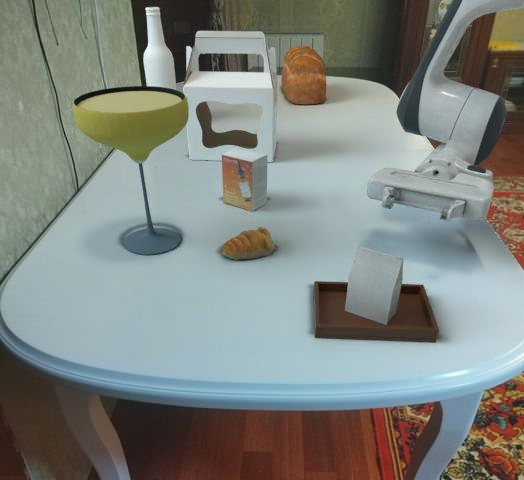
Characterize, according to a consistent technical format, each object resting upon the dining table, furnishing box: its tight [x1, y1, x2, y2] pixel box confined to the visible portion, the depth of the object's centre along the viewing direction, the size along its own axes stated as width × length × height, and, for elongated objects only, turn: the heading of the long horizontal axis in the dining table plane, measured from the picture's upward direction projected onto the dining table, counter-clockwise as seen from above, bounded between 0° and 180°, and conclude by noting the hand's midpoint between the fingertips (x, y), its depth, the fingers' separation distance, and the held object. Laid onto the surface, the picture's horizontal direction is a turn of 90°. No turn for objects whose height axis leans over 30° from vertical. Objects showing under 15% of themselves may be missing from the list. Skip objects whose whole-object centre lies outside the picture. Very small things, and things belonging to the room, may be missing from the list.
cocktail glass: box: [72, 85, 189, 256], centre depth 88 cm, size 18×18×25 cm
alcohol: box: [142, 6, 178, 90], centre depth 150 cm, size 9×9×30 cm
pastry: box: [221, 226, 276, 261], centre depth 92 cm, size 9×7×4 cm
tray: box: [313, 280, 440, 343], centre depth 76 cm, size 17×12×2 cm
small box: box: [221, 148, 268, 212], centre depth 107 cm, size 8×6×10 cm
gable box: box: [182, 30, 278, 163], centre depth 127 cm, size 22×13×28 cm, turn 85°
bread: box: [280, 45, 327, 105], centre depth 180 cm, size 14×26×16 cm, turn 5°
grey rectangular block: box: [345, 245, 404, 325], centre depth 74 cm, size 4×7×10 cm, turn 57°
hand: (415, 209), depth 80 cm, fingers open, 8 cm apart
